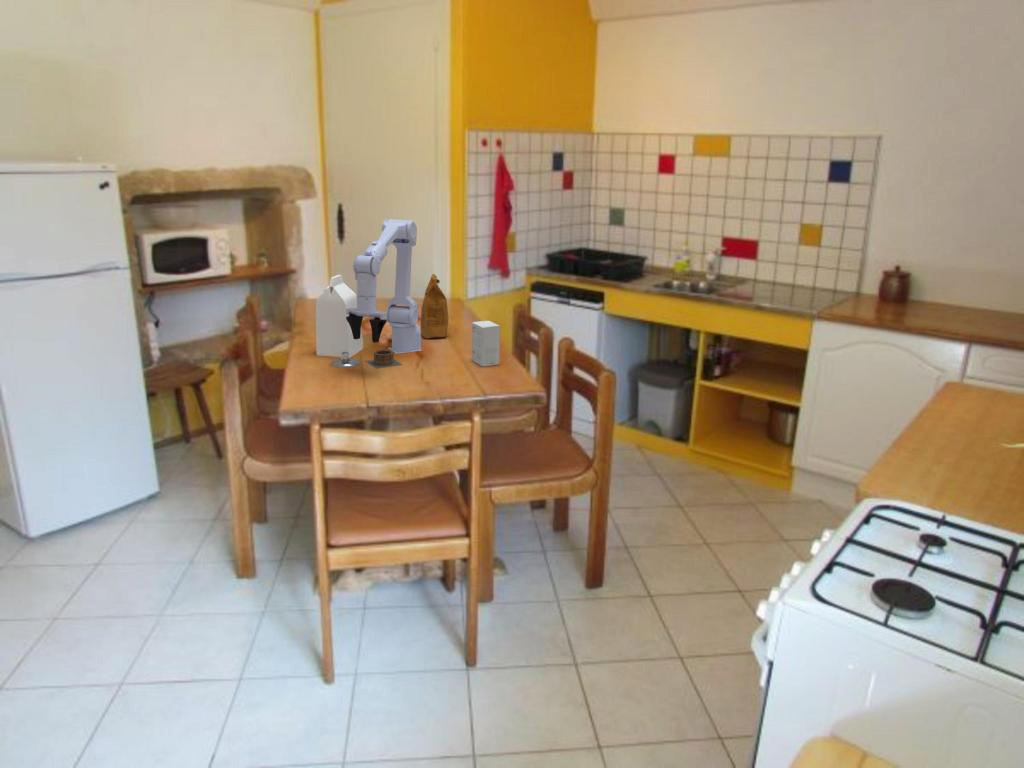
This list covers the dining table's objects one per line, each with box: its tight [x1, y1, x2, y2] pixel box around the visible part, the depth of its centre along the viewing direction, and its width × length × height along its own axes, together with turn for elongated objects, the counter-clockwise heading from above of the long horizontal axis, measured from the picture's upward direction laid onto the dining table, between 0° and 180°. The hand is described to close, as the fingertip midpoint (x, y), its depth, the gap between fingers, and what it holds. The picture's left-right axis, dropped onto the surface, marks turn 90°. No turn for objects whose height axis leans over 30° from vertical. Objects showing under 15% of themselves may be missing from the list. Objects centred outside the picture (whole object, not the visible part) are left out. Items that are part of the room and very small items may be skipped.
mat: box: [365, 359, 403, 370], centre depth 239 cm, size 9×9×1 cm
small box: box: [471, 320, 501, 367], centre depth 242 cm, size 8×6×13 cm
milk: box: [315, 274, 364, 359], centre depth 247 cm, size 12×12×26 cm
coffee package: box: [420, 273, 449, 339], centre depth 273 cm, size 10×12×22 cm
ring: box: [373, 349, 395, 366], centre depth 239 cm, size 6×6×4 cm
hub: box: [330, 352, 361, 369], centre depth 237 cm, size 9×9×4 cm
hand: (366, 340), depth 227 cm, fingers open, 7 cm apart
